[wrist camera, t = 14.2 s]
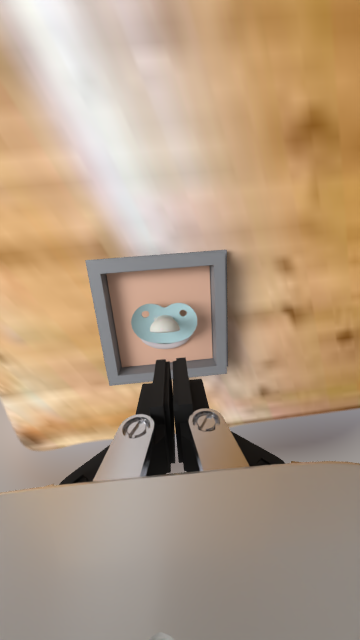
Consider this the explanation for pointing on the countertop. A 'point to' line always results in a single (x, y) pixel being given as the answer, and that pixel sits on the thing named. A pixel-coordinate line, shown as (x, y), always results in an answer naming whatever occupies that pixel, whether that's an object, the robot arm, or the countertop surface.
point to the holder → (162, 289)
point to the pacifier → (164, 325)
